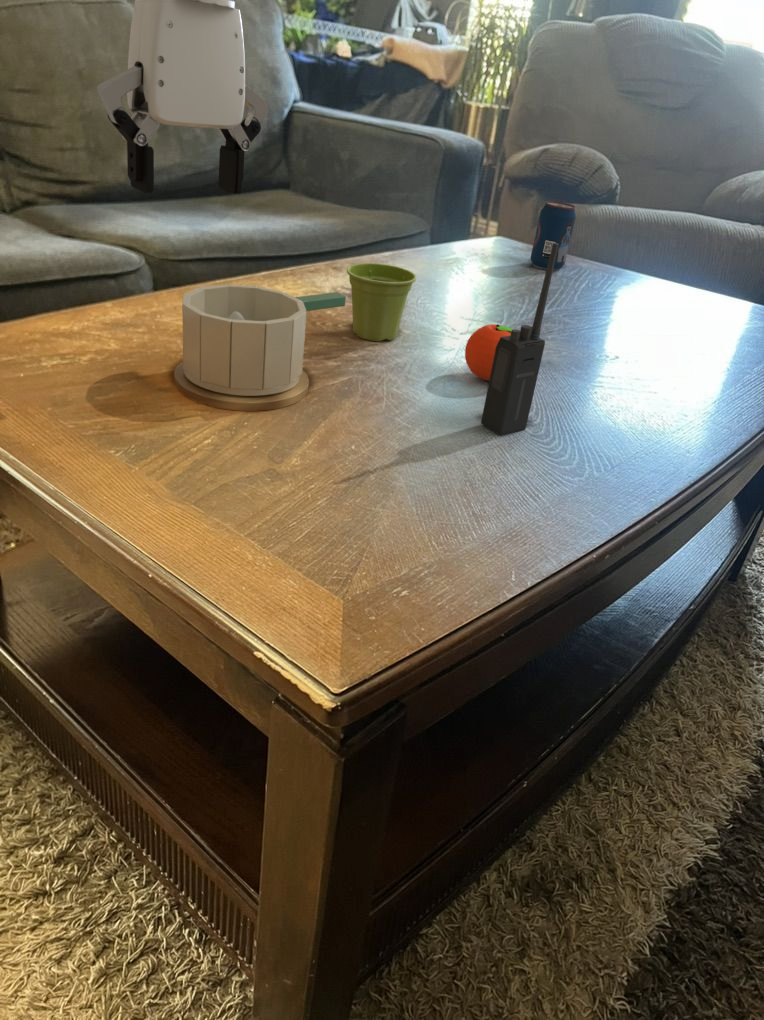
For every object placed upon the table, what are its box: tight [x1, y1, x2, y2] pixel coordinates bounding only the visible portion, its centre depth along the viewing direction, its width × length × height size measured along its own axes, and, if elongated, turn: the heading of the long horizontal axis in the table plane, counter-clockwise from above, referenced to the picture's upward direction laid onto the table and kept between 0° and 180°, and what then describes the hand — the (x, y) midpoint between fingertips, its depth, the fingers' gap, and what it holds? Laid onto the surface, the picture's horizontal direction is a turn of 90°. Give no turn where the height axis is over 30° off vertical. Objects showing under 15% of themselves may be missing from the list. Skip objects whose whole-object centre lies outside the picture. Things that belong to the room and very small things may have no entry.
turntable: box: [173, 360, 310, 412], centre depth 88 cm, size 15×15×1 cm
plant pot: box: [346, 262, 417, 342], centre depth 106 cm, size 9×9×9 cm
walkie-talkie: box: [480, 243, 559, 437], centre depth 82 cm, size 5×3×20 cm
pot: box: [181, 283, 347, 396], centre depth 88 cm, size 13×20×8 cm, turn 132°
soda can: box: [530, 200, 577, 272], centre depth 153 cm, size 7×7×12 cm
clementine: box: [464, 323, 514, 382], centre depth 97 cm, size 8×7×7 cm
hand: (187, 190), depth 76 cm, fingers open, 9 cm apart
